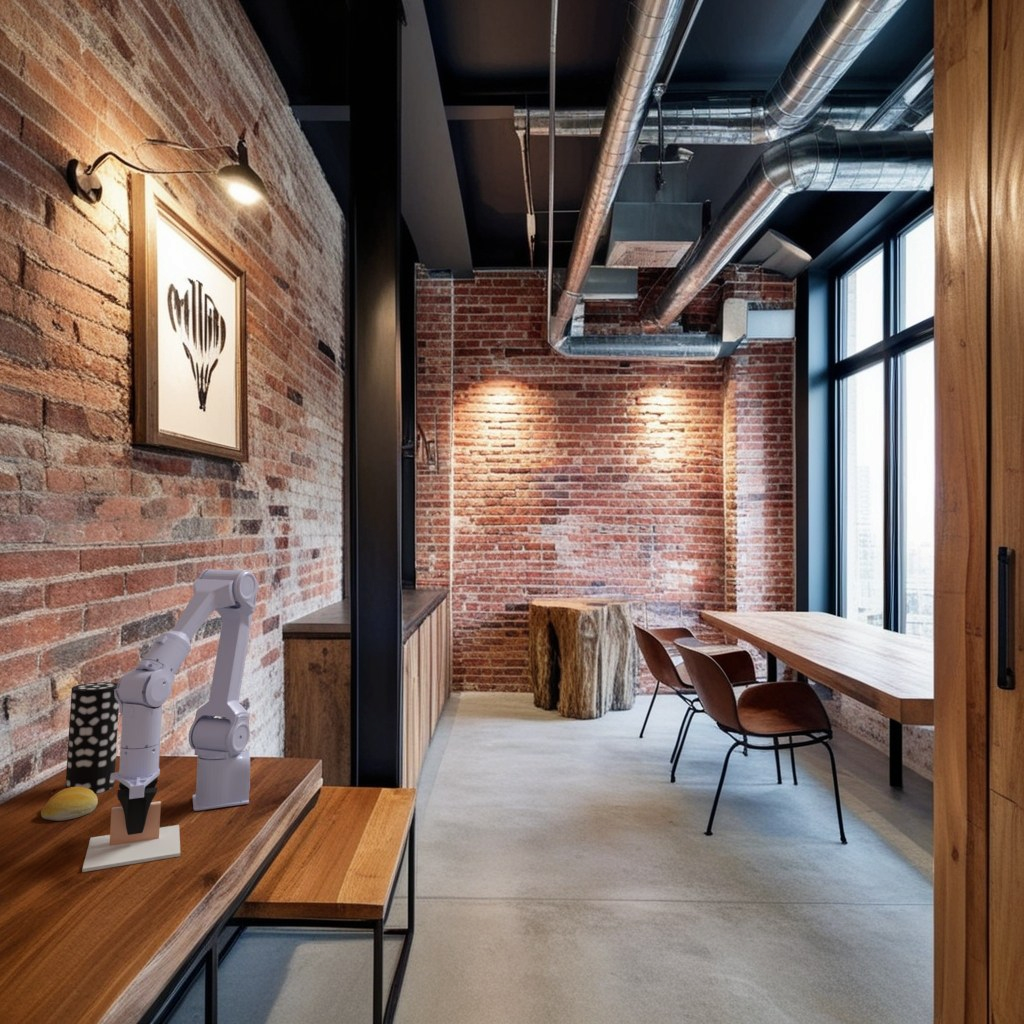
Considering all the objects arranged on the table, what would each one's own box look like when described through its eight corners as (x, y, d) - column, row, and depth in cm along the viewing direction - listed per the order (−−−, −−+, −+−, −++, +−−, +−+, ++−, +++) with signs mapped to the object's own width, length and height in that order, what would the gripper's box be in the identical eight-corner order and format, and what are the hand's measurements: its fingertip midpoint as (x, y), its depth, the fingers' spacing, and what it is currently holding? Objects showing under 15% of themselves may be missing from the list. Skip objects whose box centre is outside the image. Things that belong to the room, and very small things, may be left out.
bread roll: (35, 825, 116) (37, 801, 117) (50, 806, 125) (52, 784, 125) (91, 819, 119) (92, 796, 119) (102, 801, 128) (103, 780, 128)
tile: (158, 835, 112) (160, 801, 112) (158, 838, 111) (160, 803, 111) (110, 842, 109) (112, 807, 109) (109, 845, 107) (111, 810, 108)
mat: (179, 827, 116) (179, 824, 116) (180, 856, 105) (180, 852, 105) (90, 840, 110) (90, 837, 110) (82, 872, 100) (82, 868, 100)
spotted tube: (122, 786, 135) (128, 685, 137) (77, 798, 128) (84, 692, 130) (101, 778, 140) (107, 680, 141) (56, 789, 133) (63, 686, 134)
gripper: (115, 735, 115) (110, 817, 114) (108, 759, 102) (103, 851, 101) (161, 731, 118) (157, 810, 118) (161, 754, 106) (156, 843, 105)
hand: (135, 829), depth 110 cm, fingers open, 3 cm apart
